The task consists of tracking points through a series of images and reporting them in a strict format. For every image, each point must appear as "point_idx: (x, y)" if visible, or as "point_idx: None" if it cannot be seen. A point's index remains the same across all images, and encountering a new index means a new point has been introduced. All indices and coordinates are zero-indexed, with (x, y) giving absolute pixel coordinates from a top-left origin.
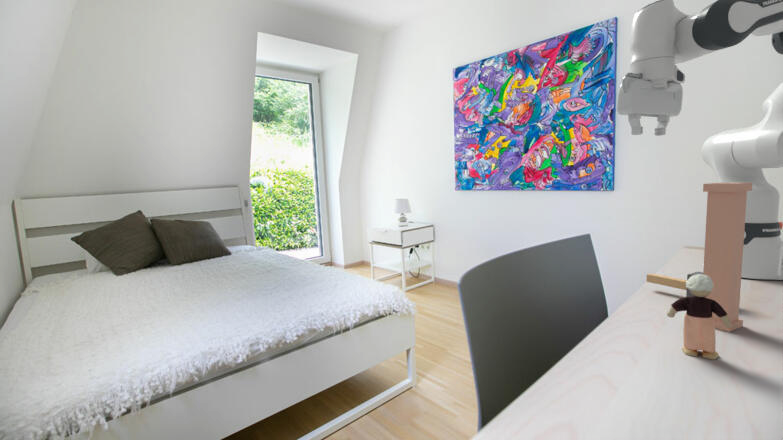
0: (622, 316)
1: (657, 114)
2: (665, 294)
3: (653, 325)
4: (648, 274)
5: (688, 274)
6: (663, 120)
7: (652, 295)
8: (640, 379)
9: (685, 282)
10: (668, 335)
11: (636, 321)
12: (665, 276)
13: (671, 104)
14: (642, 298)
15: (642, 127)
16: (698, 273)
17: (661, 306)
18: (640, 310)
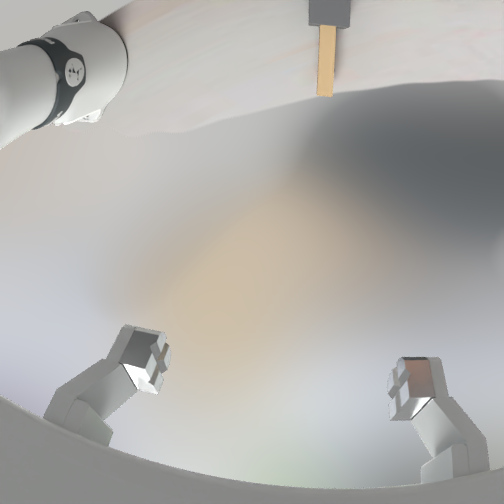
0: (477, 73)
1: (226, 479)
2: None
3: (479, 36)
4: (330, 94)
5: (348, 25)
6: (96, 413)
7: (354, 72)
8: None
9: (335, 33)
10: (493, 19)
11: (481, 55)
12: (321, 69)
13: (21, 493)
14: (383, 77)
15: (413, 392)
16: (325, 17)
17: (400, 45)
18: (440, 61)
